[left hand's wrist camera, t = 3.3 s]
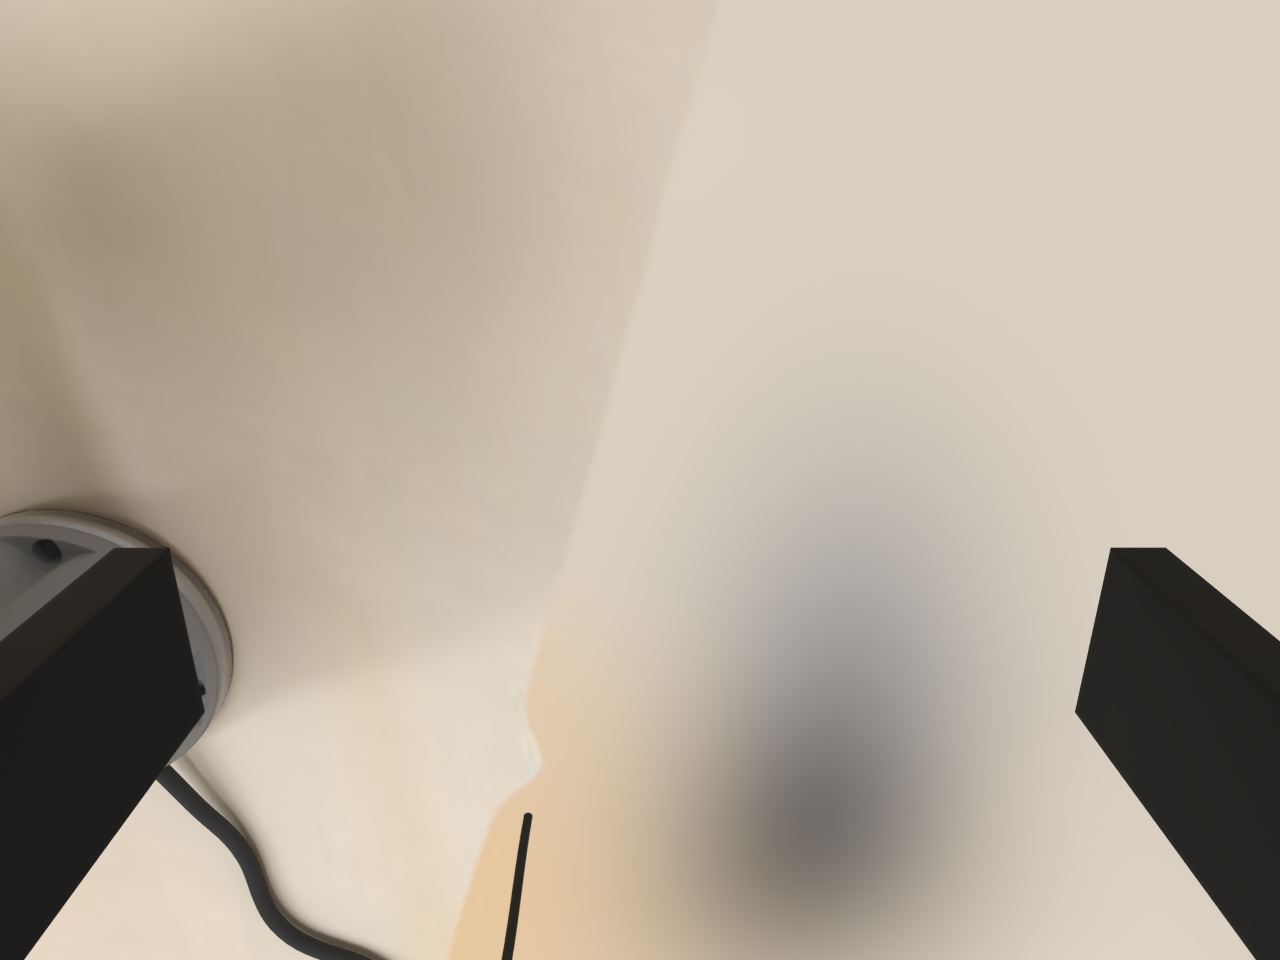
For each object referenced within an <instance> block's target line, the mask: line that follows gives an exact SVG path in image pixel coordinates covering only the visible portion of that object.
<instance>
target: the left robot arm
mask: <svg viewBox="0 0 1280 960" xmlns="http://www.w3.org/2000/svg"><path fill="white" fill-rule="evenodd" d="M231 675H232V651H231V645H230V639H229V636H228V632H227V629H226V625H225V623H224V621H223V618H222V616H221V613H220V611H219V609H218V608H217V606H216V604H215V602H214V600H213V599H212V597H211V596H210V594H209V593H208V591H207V590H206V588H205V587H204V586H203V584H202V583H201V582H200V581H199V579H198V578H197V577H196V576H195V575H194V574H193V573H192V572H191V571H190V570H189V568H188V567H187V566H185V565H184V564H183V563H182V562H181V561H180V560H179V559H178V558H177V557H175V556H174V555H173V554H172V553H170V549H169V548H164V547H162V546H161V545H159V544H158V543H156V542H155V541H153V540H152V539H150V538H148V537H146V536H145V535H143V534H141V533H139V532H137V531H135V530H133V529H131V528H129V527H126V526H124V525H122V524H119V523H117V522H114V521H111V520H108V519H105V518H101V517H98V516H94V515H90V514H85V513H80V512H74V511H64V510H35V511H26V512H21V513H15V514H11V515H8V516H4V517H1V518H0V960H24V959H25V958H26V956H27V955H28V954H29V952H30V951H31V950H32V948H33V947H34V945H35V944H36V943H37V941H38V940H39V939H40V937H41V936H42V935H43V933H44V932H45V930H46V929H47V928H48V926H49V925H50V924H51V922H52V921H53V919H54V918H55V917H56V915H57V914H58V913H59V911H60V910H61V909H62V907H63V906H64V904H65V903H66V902H67V900H68V899H69V898H70V896H71V895H72V893H73V892H74V891H75V889H76V888H77V887H78V885H79V884H80V882H81V881H82V880H83V878H84V877H85V876H86V874H87V873H88V872H89V870H90V869H91V867H92V866H93V865H94V863H95V862H96V861H97V859H98V858H99V856H100V855H101V854H102V852H103V851H104V850H105V848H106V847H107V846H108V844H109V843H110V841H111V840H112V839H113V837H114V836H115V835H116V833H117V832H118V830H119V829H120V828H121V826H122V825H123V824H124V822H125V821H126V820H127V818H128V817H129V815H130V814H131V813H132V811H133V810H134V809H135V807H136V806H137V804H138V803H139V802H140V800H141V799H142V798H143V796H144V795H145V793H146V792H147V791H148V789H149V788H150V787H151V785H152V784H153V783H154V781H155V780H157V781H158V782H159V783H160V784H161V785H162V786H163V787H164V788H165V789H166V790H167V791H168V792H169V793H170V794H171V795H172V796H173V797H174V798H175V799H176V800H177V801H178V802H179V803H180V804H181V805H182V806H183V807H184V808H185V809H186V810H187V811H188V812H189V813H190V814H192V815H193V816H194V817H195V818H196V819H197V820H198V821H199V822H200V823H202V824H203V825H204V826H205V827H206V828H207V829H209V830H210V831H211V832H212V833H213V834H214V835H216V836H217V837H218V838H219V839H220V840H221V841H222V842H223V843H224V844H225V845H226V846H227V848H228V849H229V850H230V851H231V852H232V854H233V855H234V857H235V858H236V860H237V861H238V863H239V865H240V867H241V869H242V871H243V873H244V876H245V878H246V881H247V884H248V887H249V890H250V893H251V896H252V898H253V901H254V903H255V905H256V908H257V910H258V912H259V913H260V915H261V917H262V919H263V920H264V922H265V923H266V924H267V926H268V927H269V928H270V929H271V930H272V931H273V932H274V933H275V934H276V935H277V936H278V937H279V938H280V939H281V940H283V941H284V942H285V943H286V944H288V945H290V946H291V947H293V948H294V949H296V950H298V951H300V952H302V953H304V954H306V955H309V956H311V957H314V958H316V959H319V960H371V959H370V958H367V957H365V956H362V955H360V954H357V953H355V952H352V951H349V950H346V949H343V948H340V947H337V946H333V945H331V944H328V943H325V942H322V941H320V940H317V939H315V938H313V937H311V936H309V935H307V934H305V933H303V932H302V931H300V930H298V929H297V928H296V927H294V926H293V925H292V924H291V923H289V922H288V921H287V920H286V919H285V918H284V917H283V915H282V914H281V913H280V912H279V910H278V909H277V907H276V906H275V904H274V903H273V901H272V899H271V896H270V894H269V891H268V888H267V886H266V883H265V880H264V877H263V874H262V871H261V868H260V866H259V864H258V861H257V859H256V857H255V855H254V853H253V851H252V849H251V848H250V846H249V845H248V843H247V842H246V840H245V839H244V838H243V836H242V835H241V834H240V833H239V832H238V831H237V829H236V828H235V827H234V826H233V825H232V824H231V823H230V822H229V821H227V820H226V819H225V818H224V817H223V816H222V815H221V814H219V813H218V812H217V811H216V810H215V809H214V808H213V807H211V806H210V805H209V804H208V803H207V802H206V801H205V800H204V799H203V798H202V797H201V796H200V795H199V794H198V793H197V792H196V791H195V790H194V789H193V788H192V787H191V786H190V785H189V784H188V783H187V782H186V781H185V780H184V779H183V778H182V777H181V776H180V775H179V774H178V773H177V772H176V771H175V770H174V769H173V768H172V767H171V766H170V765H169V764H171V763H172V762H174V761H175V760H176V759H178V758H179V757H180V756H181V755H182V754H184V753H185V752H186V751H187V750H189V749H190V748H191V747H192V746H193V745H194V744H195V743H196V742H197V740H198V739H199V738H200V737H201V736H202V734H203V733H204V732H205V730H206V729H207V727H208V726H209V724H210V723H211V722H212V720H213V719H214V717H215V716H216V714H217V713H218V711H219V709H220V708H221V706H222V704H223V702H224V700H225V698H226V695H227V692H228V689H229V685H230V680H231ZM1075 713H1076V714H1077V715H1078V717H1079V718H1080V719H1081V721H1082V722H1083V724H1084V725H1085V726H1086V728H1087V729H1088V730H1089V732H1090V733H1091V734H1092V736H1093V737H1094V739H1095V740H1096V741H1097V743H1098V744H1099V746H1100V747H1101V748H1102V750H1103V751H1104V752H1105V754H1106V755H1107V756H1108V758H1109V759H1110V761H1111V762H1112V763H1113V765H1114V766H1115V767H1116V769H1117V770H1118V771H1119V773H1120V774H1121V776H1122V777H1123V778H1124V780H1125V781H1126V782H1127V784H1128V785H1129V787H1130V788H1131V789H1132V791H1133V792H1134V793H1135V795H1136V796H1137V798H1138V799H1139V800H1140V802H1141V803H1142V804H1143V806H1144V807H1145V809H1146V810H1147V811H1148V813H1149V814H1150V815H1151V817H1152V818H1153V820H1154V821H1155V822H1156V824H1157V825H1158V826H1159V828H1160V829H1161V830H1162V832H1163V833H1164V834H1165V836H1166V837H1167V839H1168V840H1169V841H1170V843H1171V844H1172V845H1173V847H1174V848H1175V850H1176V851H1177V852H1178V854H1179V855H1180V856H1181V858H1182V859H1183V861H1184V862H1185V863H1186V865H1187V866H1188V867H1189V869H1190V870H1191V872H1192V873H1193V874H1194V876H1195V877H1196V878H1197V880H1198V881H1199V882H1200V884H1201V885H1202V887H1203V888H1204V889H1205V891H1206V892H1207V893H1208V895H1209V896H1210V898H1211V899H1212V900H1213V902H1214V903H1215V904H1216V906H1217V907H1218V908H1219V910H1220V911H1221V913H1222V914H1223V915H1224V917H1225V918H1226V919H1227V921H1228V922H1229V923H1230V925H1231V926H1232V928H1233V929H1234V930H1235V932H1236V933H1237V934H1238V936H1239V937H1240V938H1241V940H1242V941H1243V943H1244V944H1245V945H1246V947H1247V948H1248V950H1249V951H1250V952H1251V954H1252V955H1253V956H1254V958H1255V959H1256V960H1280V641H1279V640H1278V639H1276V638H1275V637H1274V636H1273V635H1271V634H1270V633H1269V632H1268V631H1267V630H1265V629H1264V628H1263V627H1262V626H1261V625H1259V624H1258V623H1257V622H1256V621H1254V620H1253V619H1252V618H1251V617H1250V616H1248V615H1247V614H1246V613H1245V612H1243V611H1242V610H1241V609H1240V608H1239V607H1237V606H1236V605H1235V604H1234V603H1232V602H1231V601H1230V600H1229V599H1228V598H1226V597H1225V596H1224V595H1223V594H1222V593H1220V592H1219V591H1218V590H1217V589H1215V588H1214V587H1213V586H1212V585H1211V584H1209V583H1208V582H1207V581H1206V580H1204V579H1203V578H1202V577H1201V576H1200V575H1198V574H1197V573H1196V572H1195V571H1193V570H1192V569H1191V568H1190V567H1189V566H1187V565H1186V564H1185V563H1184V562H1183V561H1181V560H1180V559H1179V558H1178V557H1176V556H1175V555H1174V554H1173V553H1172V552H1170V551H1169V550H1168V549H1167V548H1111V549H1110V554H1109V558H1108V563H1107V567H1106V572H1105V577H1104V581H1103V586H1102V590H1101V595H1100V600H1099V604H1098V609H1097V613H1096V618H1095V623H1094V627H1093V632H1092V637H1091V641H1090V645H1089V650H1088V655H1087V659H1086V664H1085V669H1084V673H1083V678H1082V682H1081V687H1080V691H1079V696H1078V701H1077V705H1076V710H1075ZM532 818H533V815H532V814H531V813H525V814H524V817H523V823H522V828H521V834H520V840H519V847H518V853H517V859H516V866H515V873H514V880H513V887H512V894H511V902H510V908H509V915H508V922H507V929H506V935H505V942H504V948H503V953H502V959H501V960H512V959H513V952H514V946H515V939H516V932H517V925H518V918H519V910H520V903H521V895H522V887H523V879H524V872H525V864H526V857H527V850H528V843H529V836H530V830H531V824H532Z"/></svg>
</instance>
